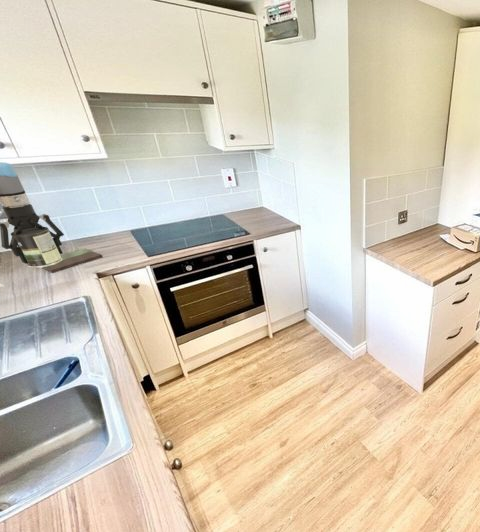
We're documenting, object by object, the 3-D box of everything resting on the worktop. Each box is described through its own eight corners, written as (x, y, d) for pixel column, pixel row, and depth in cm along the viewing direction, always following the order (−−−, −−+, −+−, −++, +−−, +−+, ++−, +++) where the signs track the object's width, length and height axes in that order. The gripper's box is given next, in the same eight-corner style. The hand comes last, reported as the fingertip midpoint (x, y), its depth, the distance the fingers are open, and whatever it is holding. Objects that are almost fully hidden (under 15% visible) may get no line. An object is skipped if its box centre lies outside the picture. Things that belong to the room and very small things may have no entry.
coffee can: (29, 270, 127) (11, 237, 121) (26, 262, 133) (9, 230, 126) (65, 262, 134) (49, 231, 128) (60, 255, 140) (46, 224, 134)
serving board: (52, 273, 151) (51, 270, 151) (36, 265, 157) (35, 262, 157) (102, 257, 168) (101, 254, 167) (86, 250, 174) (85, 248, 173)
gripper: (-25, 214, 112) (8, 270, 122) (60, 200, 130) (82, 250, 140) (-33, 210, 115) (-1, 266, 125) (51, 197, 133) (73, 246, 143)
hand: (43, 257), depth 132 cm, fingers closed on coffee can, 10 cm apart
